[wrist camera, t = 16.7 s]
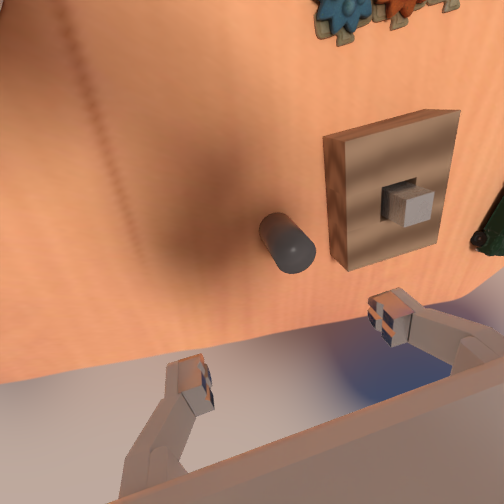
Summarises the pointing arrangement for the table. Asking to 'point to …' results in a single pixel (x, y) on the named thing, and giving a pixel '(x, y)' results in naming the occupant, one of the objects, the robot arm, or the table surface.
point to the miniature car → (492, 234)
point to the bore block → (385, 183)
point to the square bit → (406, 203)
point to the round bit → (287, 243)
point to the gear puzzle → (366, 15)
